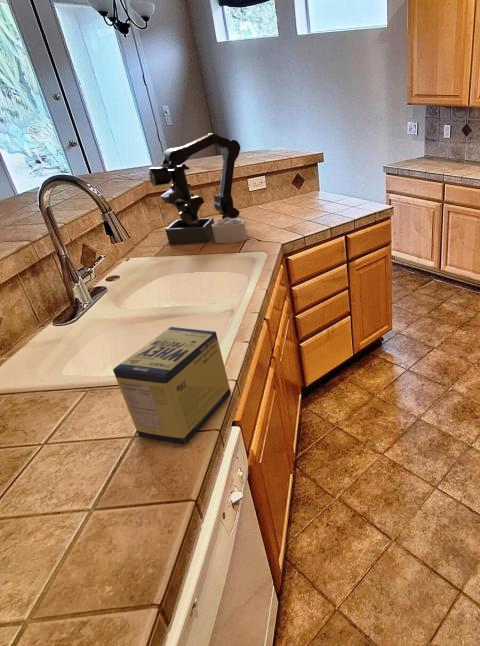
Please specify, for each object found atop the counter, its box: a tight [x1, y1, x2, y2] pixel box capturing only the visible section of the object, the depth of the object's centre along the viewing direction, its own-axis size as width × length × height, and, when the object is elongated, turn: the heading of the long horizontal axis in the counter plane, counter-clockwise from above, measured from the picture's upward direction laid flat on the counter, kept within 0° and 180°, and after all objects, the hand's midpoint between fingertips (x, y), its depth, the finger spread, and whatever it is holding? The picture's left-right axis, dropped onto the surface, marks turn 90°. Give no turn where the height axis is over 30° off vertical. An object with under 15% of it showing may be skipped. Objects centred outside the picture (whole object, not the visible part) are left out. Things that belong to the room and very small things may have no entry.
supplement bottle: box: [178, 204, 202, 228], centre depth 184 cm, size 7×7×12 cm
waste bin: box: [164, 217, 215, 245], centre depth 186 cm, size 16×15×7 cm
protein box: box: [112, 326, 232, 445], centre depth 82 cm, size 10×16×16 cm
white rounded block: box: [212, 217, 248, 244], centre depth 183 cm, size 10×13×9 cm
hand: (189, 219), depth 184 cm, fingers closed on supplement bottle, 7 cm apart
